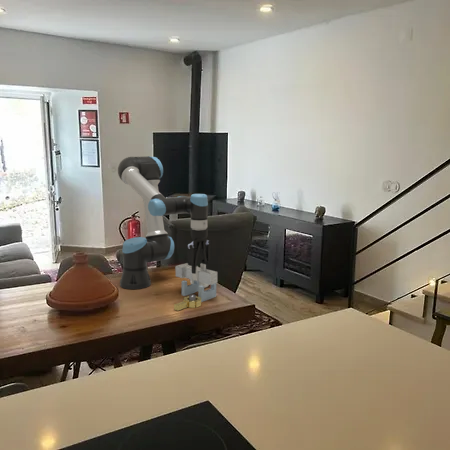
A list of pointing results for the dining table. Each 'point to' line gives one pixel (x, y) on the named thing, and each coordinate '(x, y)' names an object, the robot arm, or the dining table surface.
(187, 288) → the rack
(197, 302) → the gold box wrench
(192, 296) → the nut base
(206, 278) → the white t-shaped plate
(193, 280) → the lidded jar
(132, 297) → the dining table surface
